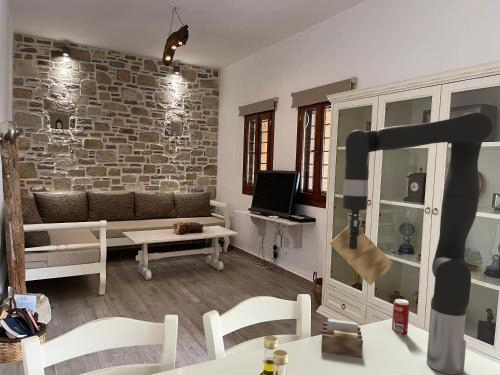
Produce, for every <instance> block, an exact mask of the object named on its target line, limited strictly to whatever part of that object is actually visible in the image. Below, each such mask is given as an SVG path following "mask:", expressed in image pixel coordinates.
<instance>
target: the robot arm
mask: <svg viewBox="0 0 500 375" xmlns="http://www.w3.org/2000/svg"><path fill="white" fill-rule="evenodd" d="M493 129H494V125H493V121H492V120H491V118H490V117H489V116H488V115H487V114H485V113H483V112H479V111H478V112H477V111H470V112H467V113H463V114H462V115H458V116H455V117H452V118H447V119H442V120H437V121H432V122H424V123H415V124H414V123H413V124H401V125H395V126H389V127H388V126H387V127H381V128H380V129H375V130H367V131H364V130H362V129H355V130H352V131H351V132H349V133H348V134H347V137H346V138H345V139H346V140H345V167H344V168H345V169H344V182H343V191H342V193H343V195H342V196H343V197H342V209H345V210H349V211H350V212H349V213H348V214H347V221H348V222H347V226H348V225H349V230H350V234H349V236H350V249H357V238H358V235H359V230H361V221H362V215H361V214H360V211H365V210H367V209H368V199H369V198H368V196H369V182H368V178H369V164H368V159H369V153H372V152H373V153H374V152H377V151H392V150H393V151H395V150H402V149H410V148H415V147H421V146H424V145H425V146H426V145H432V144H433V145H434V144H441V143H443V144H444V143H450V159H449V166H448V169H447V174H446V179H445V184H444V189H443V195H442V199H441V200H442V201H441V210H440V219H439V220H440V222H439V237H438V242H437V245H436V250H435V252H434V253H435V254H434V258H433V259H432V260H433V261H432V266H431V270H432V274H433V277H434V288H433V296H432V298H431V301H430V309H429V310H430V311H429V322H428V323H429V324H428V326H429V327H428V328H429V329H428V339H427V341H428V342H427V352H426V364H427V366H429V367H430V368H431V369H433V370H435V371H437V372H439V373H442V374H447V375H459V374H463V375H464V373H465V362H466V349H467V341H466V340H465V328H466V314H467V308H468V306H469V303H470V295H471V285H472V273H471V269H470V268H469V266H468V265H467V264H466V263H465V253H466V252H465V251H466V244H467V238H468V235H469V233H470V231H471V229H472V226H473V224H474V223H475V219H476V216H477V213H478V208H479V200H480V179H479V178H480V177H479V170H478V169H479V168H478V165H479V164H478V163H479V158H480V157H479V156H480V152H481V147H482V144H483V142H484V141H486V140H487V139H488V138H489V137H490V135H492V132H493ZM350 224H351V226H350ZM352 231H356V232H352Z"/></svg>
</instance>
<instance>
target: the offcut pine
mask: <svg viewBox="0 0 500 375" xmlns="http://www.w3.org/2000/svg"><path fill="white" fill-rule="evenodd" d="M334 336H340V337H347V338H354V339H358V334H357V333H355V332H348V331H340V330H334Z"/></svg>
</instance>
